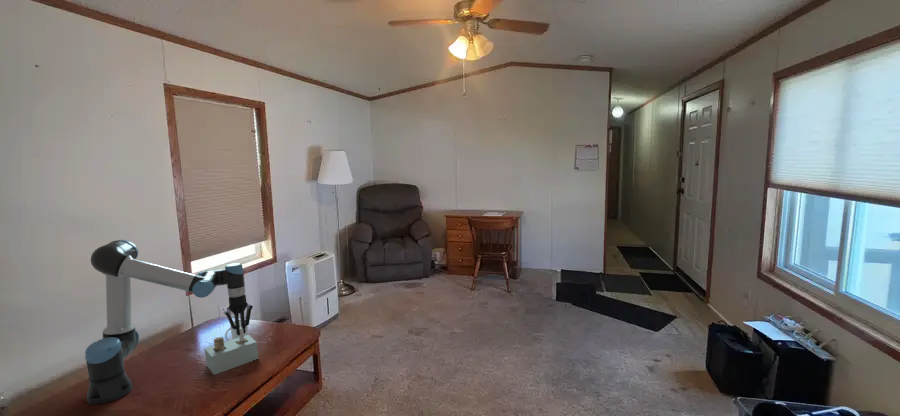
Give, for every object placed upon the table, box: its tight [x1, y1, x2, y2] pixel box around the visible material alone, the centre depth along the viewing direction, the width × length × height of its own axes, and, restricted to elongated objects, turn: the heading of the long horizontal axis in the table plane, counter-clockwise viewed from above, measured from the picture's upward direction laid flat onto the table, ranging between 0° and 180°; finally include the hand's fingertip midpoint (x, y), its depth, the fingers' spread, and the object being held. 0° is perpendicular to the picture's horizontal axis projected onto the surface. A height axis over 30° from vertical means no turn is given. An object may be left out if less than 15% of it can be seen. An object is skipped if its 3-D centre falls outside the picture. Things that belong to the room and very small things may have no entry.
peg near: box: [213, 336, 225, 352], centre depth 195 cm, size 4×4×8 cm
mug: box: [224, 319, 250, 341], centre depth 218 cm, size 12×8×12 cm
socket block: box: [204, 334, 259, 375], centre depth 200 cm, size 20×12×9 cm, turn 134°
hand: (241, 340), depth 202 cm, fingers closed
